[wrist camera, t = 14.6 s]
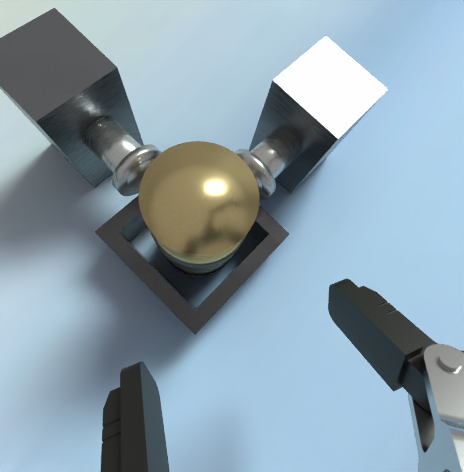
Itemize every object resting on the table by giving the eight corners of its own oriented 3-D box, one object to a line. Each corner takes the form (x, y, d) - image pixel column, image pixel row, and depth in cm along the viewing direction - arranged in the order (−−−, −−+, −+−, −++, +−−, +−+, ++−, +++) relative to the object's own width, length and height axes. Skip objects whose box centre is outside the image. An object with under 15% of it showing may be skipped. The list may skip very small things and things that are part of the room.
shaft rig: (198, 40, 26) (199, -74, 18) (344, 172, 24) (413, 111, 16) (28, 159, 21) (-69, 76, 13) (195, 329, 20) (194, 348, 12)
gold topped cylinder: (198, 198, 22) (199, 117, 12) (246, 243, 22) (285, 195, 12) (149, 244, 21) (108, 194, 11) (199, 292, 20) (201, 284, 11)
